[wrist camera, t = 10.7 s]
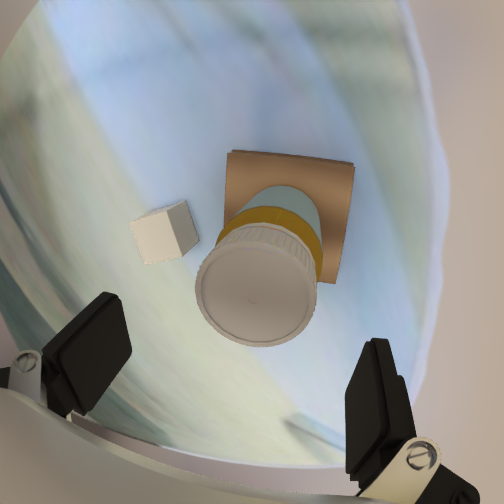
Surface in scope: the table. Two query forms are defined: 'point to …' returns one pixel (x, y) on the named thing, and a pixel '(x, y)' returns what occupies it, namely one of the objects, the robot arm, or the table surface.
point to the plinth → (304, 178)
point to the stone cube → (164, 233)
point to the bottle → (264, 269)
